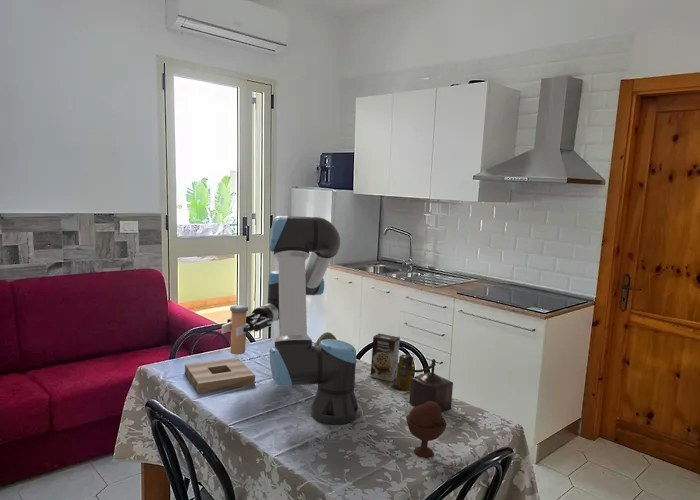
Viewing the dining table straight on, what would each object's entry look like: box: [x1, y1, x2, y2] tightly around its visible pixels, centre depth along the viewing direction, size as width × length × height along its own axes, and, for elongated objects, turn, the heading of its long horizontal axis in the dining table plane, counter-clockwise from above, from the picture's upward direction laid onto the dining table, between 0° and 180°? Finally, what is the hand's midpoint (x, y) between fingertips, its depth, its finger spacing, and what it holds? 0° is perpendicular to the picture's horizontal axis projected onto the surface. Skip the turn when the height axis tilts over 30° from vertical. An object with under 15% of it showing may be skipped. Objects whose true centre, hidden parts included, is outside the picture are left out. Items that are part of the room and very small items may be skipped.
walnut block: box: [184, 357, 256, 394], centre depth 177 cm, size 20×20×4 cm
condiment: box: [387, 354, 415, 395], centre depth 178 cm, size 7×8×12 cm
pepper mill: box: [402, 354, 454, 413], centre depth 162 cm, size 16×11×18 cm
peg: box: [229, 304, 249, 356], centre depth 168 cm, size 6×6×16 cm
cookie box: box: [370, 333, 401, 382], centre depth 188 cm, size 9×6×16 cm
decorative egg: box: [314, 331, 338, 346], centre depth 193 cm, size 11×11×15 cm
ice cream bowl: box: [405, 401, 448, 459], centre depth 133 cm, size 11×11×15 cm
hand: (229, 330), depth 163 cm, fingers closed on peg, 5 cm apart
